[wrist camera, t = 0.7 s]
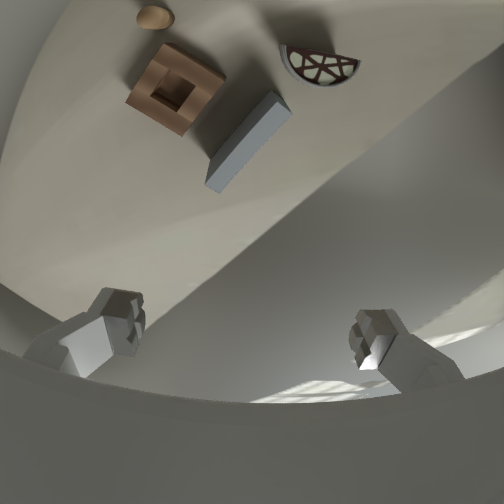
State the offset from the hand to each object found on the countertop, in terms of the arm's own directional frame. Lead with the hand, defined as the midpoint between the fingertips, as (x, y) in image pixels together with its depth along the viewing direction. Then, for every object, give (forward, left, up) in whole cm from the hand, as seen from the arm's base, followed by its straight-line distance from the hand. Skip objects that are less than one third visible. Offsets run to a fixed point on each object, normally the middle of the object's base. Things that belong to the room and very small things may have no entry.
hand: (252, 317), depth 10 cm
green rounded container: (-10, +5, -46) cm, 47 cm away
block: (+7, -10, -46) cm, 47 cm away
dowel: (-2, -20, -46) cm, 50 cm away
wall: (+7, +5, -46) cm, 46 cm away
